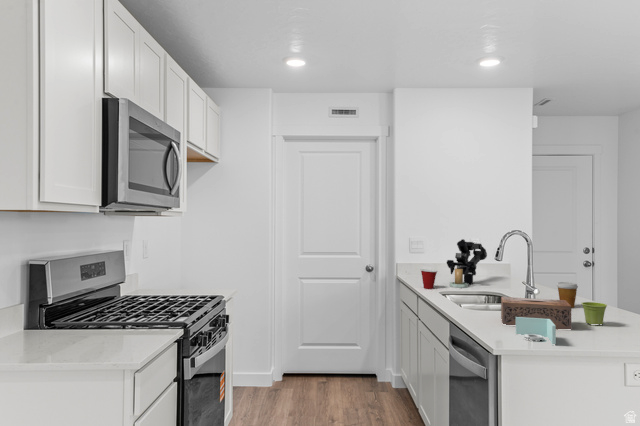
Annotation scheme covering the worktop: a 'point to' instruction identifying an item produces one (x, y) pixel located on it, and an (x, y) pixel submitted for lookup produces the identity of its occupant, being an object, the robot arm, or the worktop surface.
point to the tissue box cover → (536, 310)
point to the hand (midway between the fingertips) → (457, 274)
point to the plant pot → (594, 312)
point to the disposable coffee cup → (567, 292)
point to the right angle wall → (536, 328)
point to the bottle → (458, 275)
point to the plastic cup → (428, 278)
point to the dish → (458, 285)
